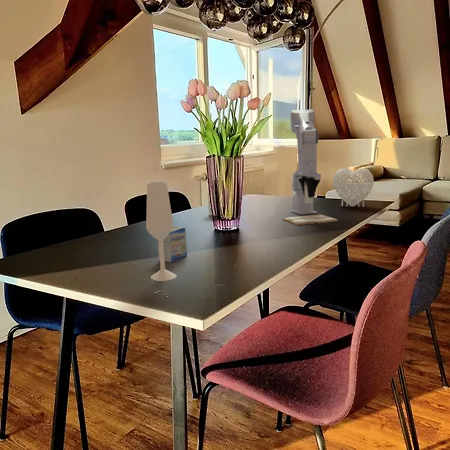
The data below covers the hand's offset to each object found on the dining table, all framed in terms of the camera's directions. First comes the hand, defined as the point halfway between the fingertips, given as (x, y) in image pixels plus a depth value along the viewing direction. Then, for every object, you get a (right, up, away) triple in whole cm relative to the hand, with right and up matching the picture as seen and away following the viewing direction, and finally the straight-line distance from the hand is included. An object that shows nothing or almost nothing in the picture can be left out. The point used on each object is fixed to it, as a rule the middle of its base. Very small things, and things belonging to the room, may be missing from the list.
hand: (309, 196), depth 176 cm
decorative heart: (+25, -3, +29) cm, 38 cm away
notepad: (+1, -9, +2) cm, 9 cm away
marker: (0, -2, 0) cm, 2 cm away
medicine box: (-48, -21, -44) cm, 68 cm away
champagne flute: (-48, -24, -61) cm, 81 cm away
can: (-36, -7, +21) cm, 43 cm away
